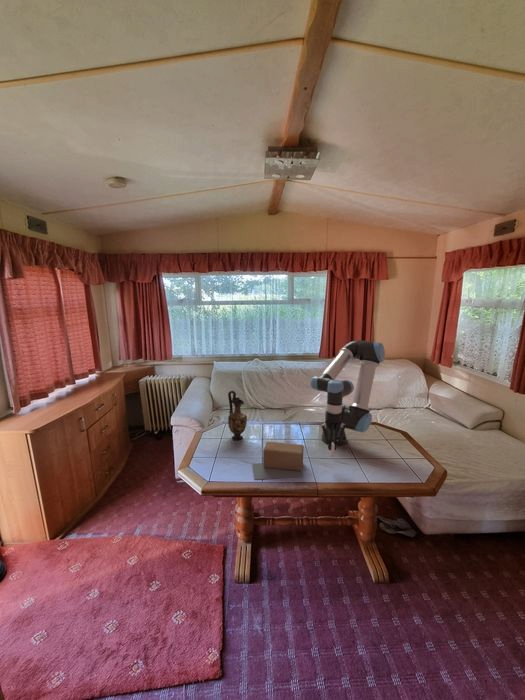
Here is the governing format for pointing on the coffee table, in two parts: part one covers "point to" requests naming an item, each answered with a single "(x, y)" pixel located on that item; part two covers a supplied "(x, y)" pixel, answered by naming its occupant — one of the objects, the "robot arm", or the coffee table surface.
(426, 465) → the coffee table surface
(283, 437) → the coffee table surface
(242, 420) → the vase
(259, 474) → the mat
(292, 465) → the block
